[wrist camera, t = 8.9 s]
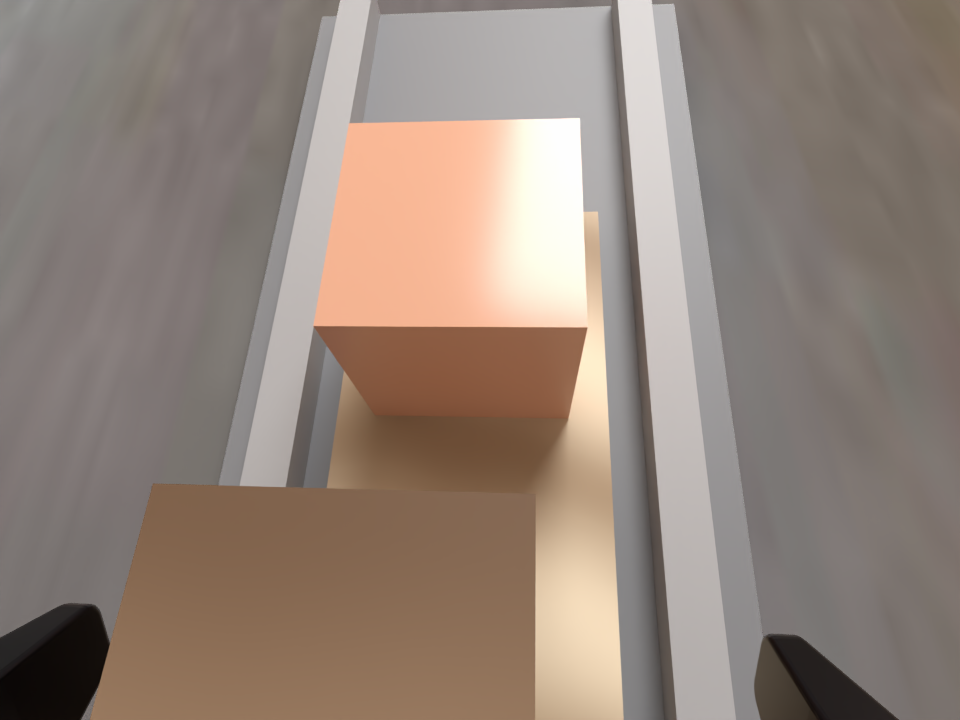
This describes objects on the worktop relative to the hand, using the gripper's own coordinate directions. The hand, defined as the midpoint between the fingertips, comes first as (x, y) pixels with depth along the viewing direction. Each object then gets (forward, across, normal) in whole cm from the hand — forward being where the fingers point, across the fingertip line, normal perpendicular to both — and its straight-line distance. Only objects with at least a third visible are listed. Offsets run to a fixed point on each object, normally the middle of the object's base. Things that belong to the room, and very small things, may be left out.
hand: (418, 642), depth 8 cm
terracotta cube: (+9, 0, -1) cm, 10 cm away
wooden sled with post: (+7, 0, +2) cm, 8 cm away
